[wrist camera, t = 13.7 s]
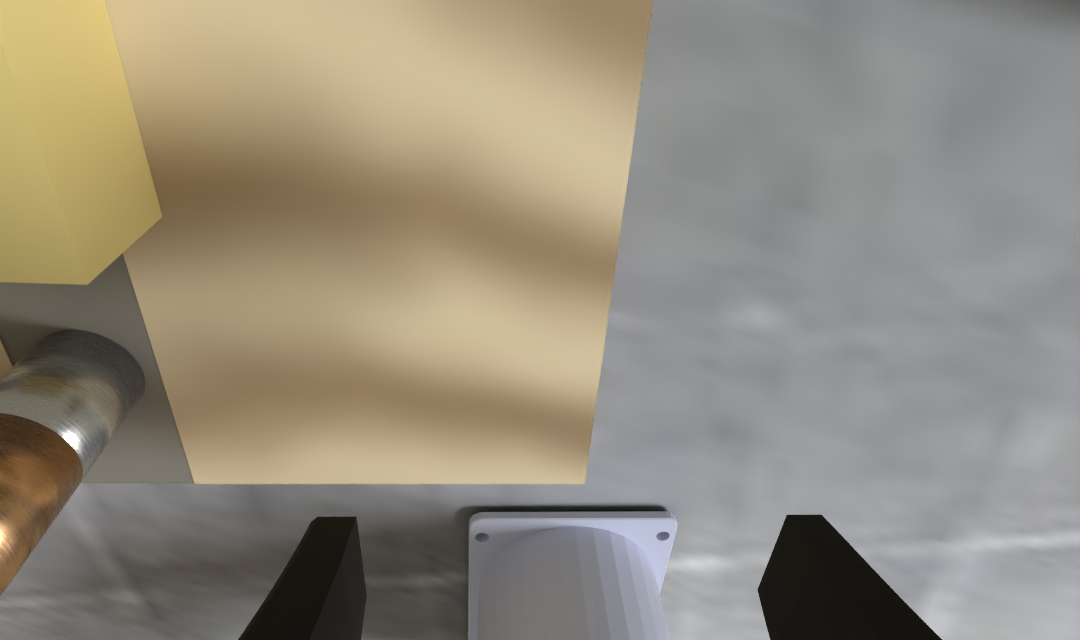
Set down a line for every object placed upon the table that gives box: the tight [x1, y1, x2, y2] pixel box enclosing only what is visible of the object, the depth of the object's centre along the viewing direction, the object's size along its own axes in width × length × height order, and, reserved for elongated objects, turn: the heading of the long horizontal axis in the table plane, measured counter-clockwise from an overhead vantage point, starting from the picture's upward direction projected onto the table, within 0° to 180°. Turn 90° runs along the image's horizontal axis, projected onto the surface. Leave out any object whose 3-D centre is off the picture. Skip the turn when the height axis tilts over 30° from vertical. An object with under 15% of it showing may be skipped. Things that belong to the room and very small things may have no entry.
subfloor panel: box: [0, 0, 653, 484], centre depth 17 cm, size 19×20×1 cm
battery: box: [0, 330, 145, 595], centre depth 16 cm, size 3×3×6 cm
